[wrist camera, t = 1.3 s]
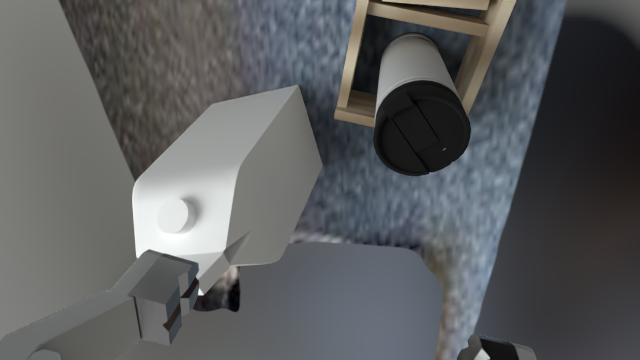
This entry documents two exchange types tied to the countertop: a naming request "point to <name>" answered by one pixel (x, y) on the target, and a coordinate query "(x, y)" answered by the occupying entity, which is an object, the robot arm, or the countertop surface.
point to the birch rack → (482, 28)
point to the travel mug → (417, 109)
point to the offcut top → (449, 3)
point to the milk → (230, 185)
